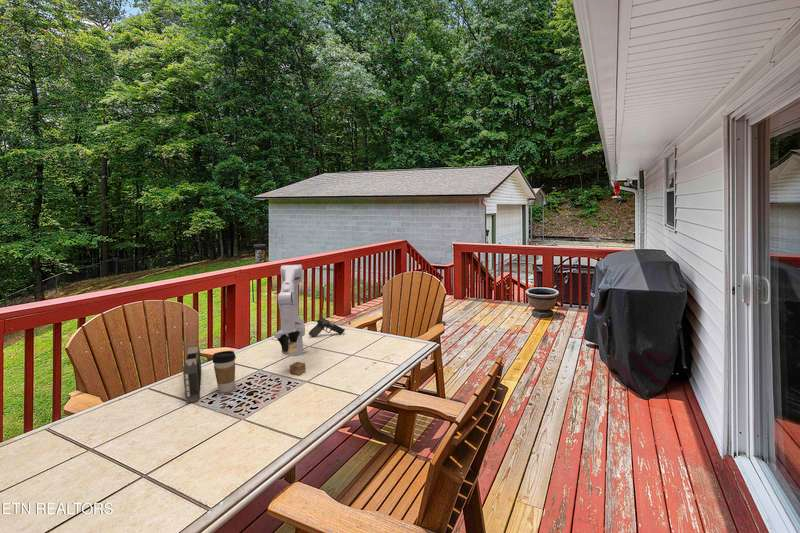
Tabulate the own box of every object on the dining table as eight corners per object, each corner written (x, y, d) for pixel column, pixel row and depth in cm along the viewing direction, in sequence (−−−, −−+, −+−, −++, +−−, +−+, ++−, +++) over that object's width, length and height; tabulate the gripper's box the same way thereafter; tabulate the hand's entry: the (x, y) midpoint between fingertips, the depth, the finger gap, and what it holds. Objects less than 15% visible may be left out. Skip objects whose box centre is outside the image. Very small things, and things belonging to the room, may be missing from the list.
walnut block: (290, 374, 172) (289, 365, 172) (297, 370, 176) (296, 361, 176) (298, 375, 170) (298, 366, 170) (305, 372, 175) (304, 363, 174)
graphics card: (199, 402, 150) (196, 365, 149) (185, 404, 148) (182, 367, 147) (202, 372, 180) (199, 340, 178) (190, 373, 178) (187, 342, 176)
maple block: (281, 353, 176) (281, 344, 175) (288, 350, 180) (288, 341, 179) (290, 354, 174) (289, 345, 173) (296, 351, 178) (296, 342, 177)
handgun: (307, 334, 224) (319, 315, 224) (307, 333, 226) (319, 315, 226) (334, 348, 229) (345, 329, 230) (334, 347, 231) (345, 328, 231)
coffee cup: (210, 391, 159) (207, 354, 157) (229, 383, 166) (227, 348, 164) (223, 396, 155) (220, 358, 153) (242, 387, 162) (239, 351, 160)
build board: (271, 375, 173) (271, 374, 173) (288, 366, 183) (288, 365, 183) (297, 380, 167) (297, 379, 167) (314, 371, 177) (314, 369, 177)
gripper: (283, 324, 167) (285, 356, 168) (305, 315, 180) (307, 345, 181) (270, 322, 170) (272, 354, 171) (292, 314, 183) (294, 343, 184)
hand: (289, 349), depth 177 cm, fingers closed on maple block, 4 cm apart
